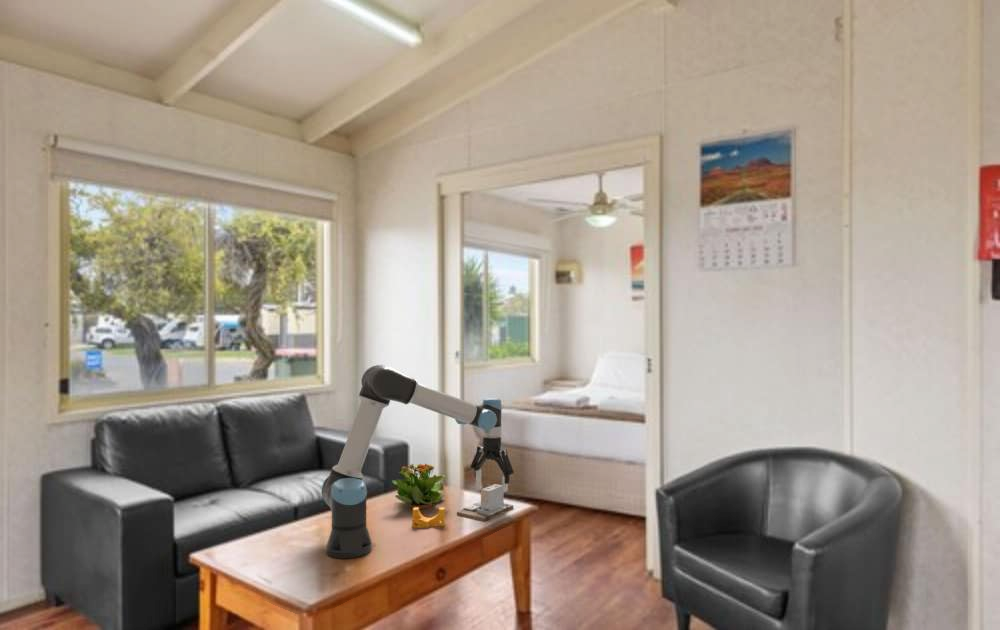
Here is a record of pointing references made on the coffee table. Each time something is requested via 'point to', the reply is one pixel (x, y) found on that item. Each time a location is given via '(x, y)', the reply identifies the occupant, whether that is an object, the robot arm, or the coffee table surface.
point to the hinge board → (472, 513)
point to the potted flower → (419, 487)
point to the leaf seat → (492, 512)
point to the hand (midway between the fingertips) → (491, 488)
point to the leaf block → (492, 498)
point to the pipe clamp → (426, 522)
